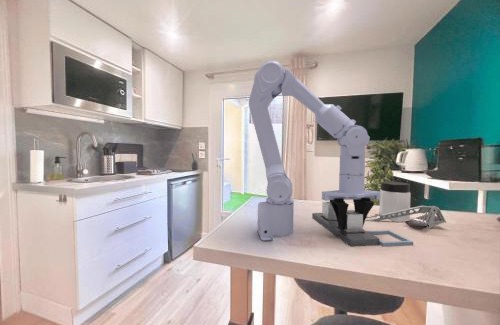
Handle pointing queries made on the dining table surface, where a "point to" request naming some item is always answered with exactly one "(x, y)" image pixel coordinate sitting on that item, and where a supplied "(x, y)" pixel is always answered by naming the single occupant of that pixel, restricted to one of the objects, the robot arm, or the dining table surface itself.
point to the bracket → (423, 209)
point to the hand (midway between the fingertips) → (350, 227)
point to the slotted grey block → (328, 212)
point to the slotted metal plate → (349, 239)
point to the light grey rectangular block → (353, 222)
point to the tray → (403, 241)
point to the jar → (395, 199)
